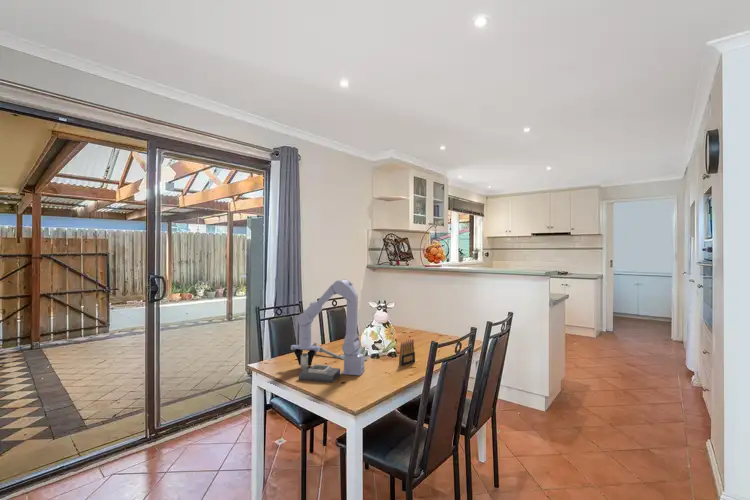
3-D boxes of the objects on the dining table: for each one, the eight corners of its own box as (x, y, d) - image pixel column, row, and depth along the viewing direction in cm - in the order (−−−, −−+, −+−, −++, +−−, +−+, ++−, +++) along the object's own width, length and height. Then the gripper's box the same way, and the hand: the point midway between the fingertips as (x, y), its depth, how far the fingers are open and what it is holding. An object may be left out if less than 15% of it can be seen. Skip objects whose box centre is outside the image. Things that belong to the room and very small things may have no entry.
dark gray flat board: (340, 375, 166) (340, 365, 166) (333, 382, 156) (333, 372, 156) (307, 372, 169) (307, 362, 169) (298, 379, 159) (298, 369, 159)
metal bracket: (346, 342, 203) (372, 344, 200) (347, 351, 205) (372, 353, 201) (338, 355, 190) (365, 358, 186) (339, 365, 191) (366, 368, 188)
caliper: (312, 353, 202) (312, 342, 202) (313, 353, 203) (313, 342, 203) (340, 359, 191) (340, 347, 191) (341, 358, 192) (341, 347, 192)
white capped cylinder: (311, 366, 177) (311, 352, 177) (307, 369, 173) (307, 355, 173) (302, 366, 178) (302, 352, 178) (299, 369, 174) (299, 354, 174)
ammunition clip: (412, 360, 188) (412, 338, 188) (415, 361, 187) (415, 338, 187) (399, 365, 181) (399, 341, 181) (401, 366, 179) (401, 342, 180)
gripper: (322, 336, 178) (322, 363, 178) (295, 334, 181) (295, 361, 181) (316, 339, 171) (316, 368, 171) (288, 337, 174) (288, 365, 174)
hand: (305, 365), depth 176 cm, fingers closed on white capped cylinder, 4 cm apart
